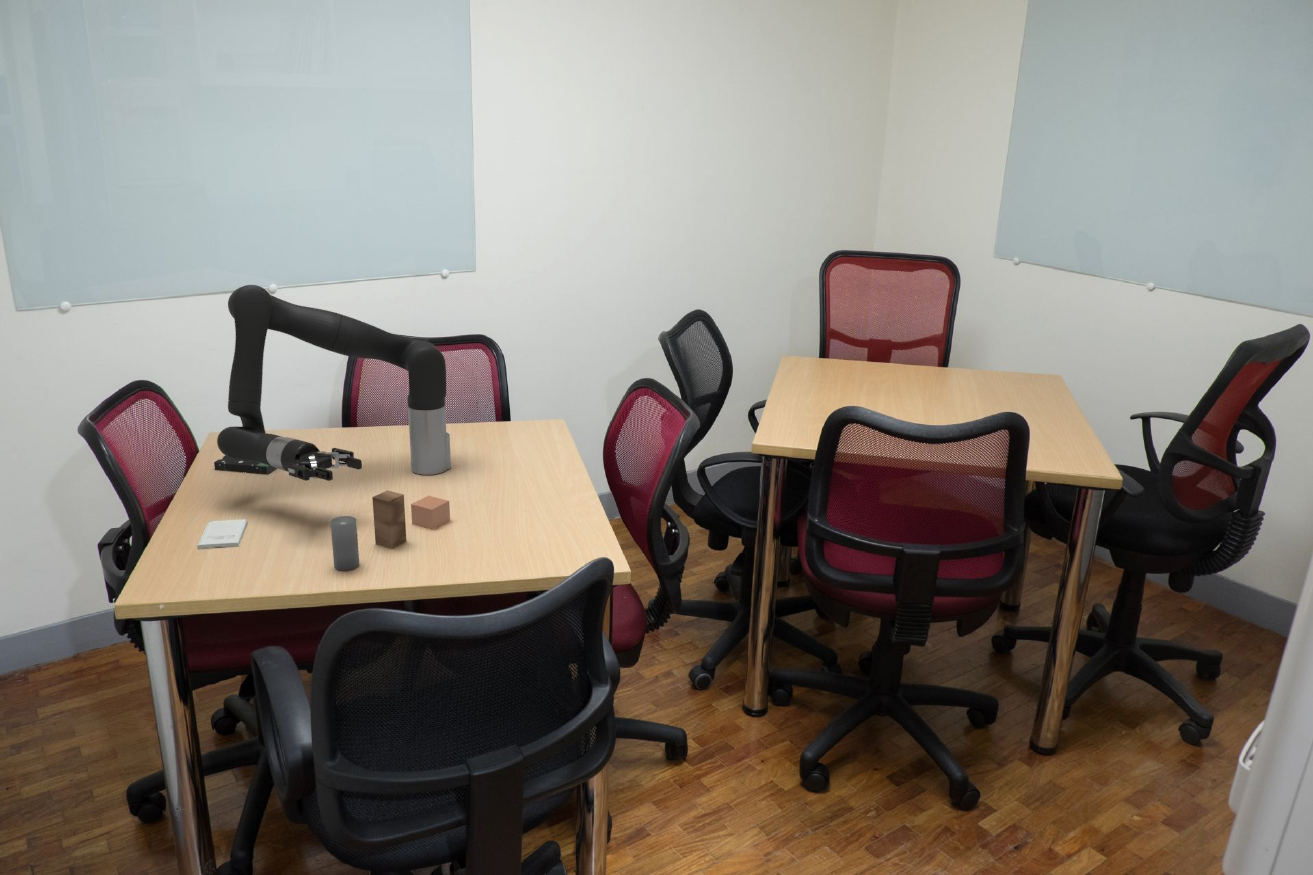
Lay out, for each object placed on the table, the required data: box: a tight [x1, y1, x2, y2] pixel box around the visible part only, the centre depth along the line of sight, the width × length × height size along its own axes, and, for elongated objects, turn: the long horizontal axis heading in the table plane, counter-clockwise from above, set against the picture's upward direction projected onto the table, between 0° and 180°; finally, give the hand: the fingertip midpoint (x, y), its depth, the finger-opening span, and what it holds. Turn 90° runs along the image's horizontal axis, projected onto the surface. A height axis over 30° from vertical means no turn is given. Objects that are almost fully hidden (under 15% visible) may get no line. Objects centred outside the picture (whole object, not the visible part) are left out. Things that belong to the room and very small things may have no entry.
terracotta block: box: [410, 495, 451, 531], centre depth 227 cm, size 6×6×5 cm
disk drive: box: [213, 455, 278, 476], centre depth 259 cm, size 10×3×15 cm
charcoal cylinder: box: [329, 515, 360, 572], centre depth 205 cm, size 5×5×10 cm
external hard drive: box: [196, 518, 248, 550], centre depth 218 cm, size 2×8×12 cm
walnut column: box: [371, 490, 407, 550], centre depth 215 cm, size 5×5×11 cm
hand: (346, 470), depth 217 cm, fingers open, 8 cm apart
